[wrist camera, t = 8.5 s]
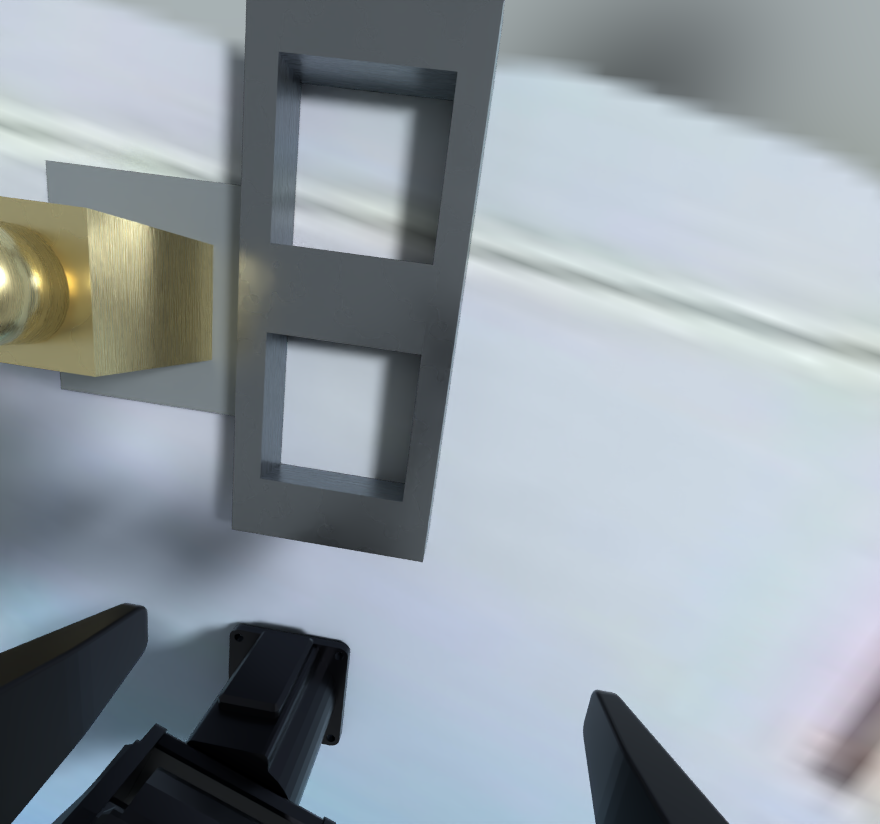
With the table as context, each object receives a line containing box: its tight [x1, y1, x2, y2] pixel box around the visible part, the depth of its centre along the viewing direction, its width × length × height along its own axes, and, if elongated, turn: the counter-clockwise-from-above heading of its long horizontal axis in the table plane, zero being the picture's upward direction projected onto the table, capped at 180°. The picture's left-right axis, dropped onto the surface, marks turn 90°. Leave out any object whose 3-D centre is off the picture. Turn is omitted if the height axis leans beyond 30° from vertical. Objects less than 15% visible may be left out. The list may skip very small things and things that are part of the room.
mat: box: [46, 160, 241, 416], centre depth 19 cm, size 10×10×1 cm
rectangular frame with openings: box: [232, 0, 505, 562], centre depth 18 cm, size 22×9×2 cm, turn 172°
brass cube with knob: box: [0, 196, 213, 377], centre depth 15 cm, size 5×5×8 cm
